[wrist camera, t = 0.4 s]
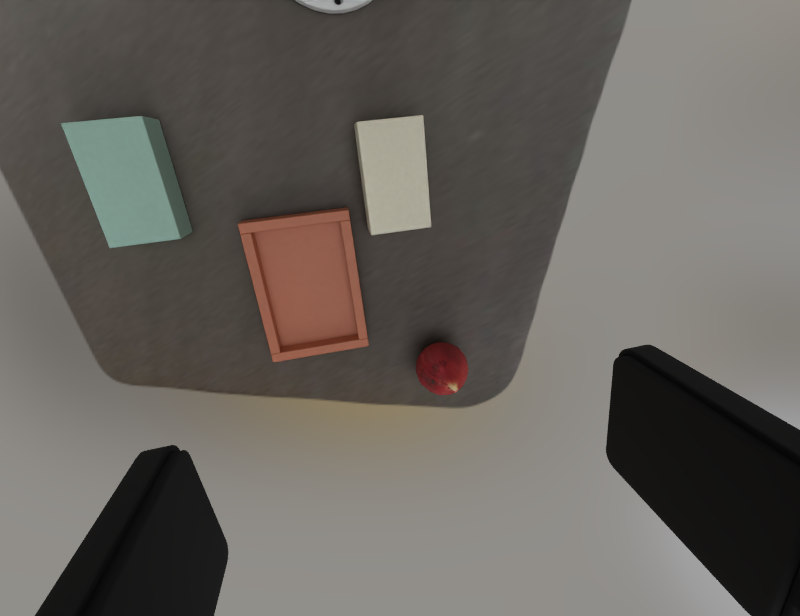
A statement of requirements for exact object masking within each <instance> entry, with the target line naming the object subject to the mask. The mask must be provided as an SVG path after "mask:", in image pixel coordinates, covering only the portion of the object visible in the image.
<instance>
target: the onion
mask: <svg viewBox="0 0 800 616" xmlns="http://www.w3.org/2000/svg"><path fill="white" fill-rule="evenodd" d="M416 373H417V376H418V378H419V381H420V383H421V384H422V385H423V386H424V387H425V388H427V389H428V390H429V391H430V392H432V393H435V394H438V395H450V394H452V393H455V392H457V391H458V390H459V389H460V388H461V387H462V386H463V384H464V383H465V381H466V379H467V374H468V365H467V360H466V357H465V355H464V354H463V353H462V352H461V350H460V349H459V348H458V347H456V346H454V345H452V344H450V343H442V342H438V343H434V344H431V345H429V346H428V347H426V348H425V349H424V350H423V351H422V352H421V354H420V355H419V357H418V358H417V363H416Z"/></svg>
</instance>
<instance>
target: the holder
mask: <svg viewBox="0 0 800 616" xmlns="http://www.w3.org/2000/svg"><path fill="white" fill-rule="evenodd" d="M238 228H239V232H240V234H241V239H242V243H243V247H244V251H245V255H246V259H247V263H248V266H249V270H250V274H251V278H252V282H253V286H254V290H255V294H256V297H257V301H258V305H259V309H260V313H261V317H262V321H263V325H264V328H265V332H266V336H267V340H268V344H269V348H270V352H271V355H272V359H273V362H277V361H283V360H289V359H295V358H301V357H307V356H312V355H318V354H324V353H330V352H336V351H342V350H348V349H353V348H359V347H365V346H369V343H368V336H367V330H366V323H365V316H364V310H363V303H362V296H361V289H360V283H359V276H358V269H357V263H356V256H355V249H354V243H353V236H352V229H351V222H350V216H349V210H348V207H345V208H337V209H329V210H321V211H313V212H306V213H298V214H290V215H282V216H274V217H266V218H258V219H251V220H243V221H241V222H240V223H239V224H238Z"/></svg>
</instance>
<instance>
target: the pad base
mask: <svg viewBox="0 0 800 616" xmlns="http://www.w3.org/2000/svg"><path fill="white" fill-rule="evenodd" d="M61 125H62V127H63V130H64V132H65V135H66V137H67V140H68V143H69V145H70V148H71V150H72V153H73V155H74V158H75V161H76V163H77V166H78V168H79V171H80V173H81V176H82V178H83V181H84V184H85V186H86V189H87V191H88V194H89V196H90V199H91V202H92V204H93V207H94V209H95V212H96V214H97V217H98V219H99V222H100V225H101V227H102V230H103V232H104V235H105V237H106V240H107V243H108V245H109V248H114V247H122V246H130V245H137V244H145V243H153V242H160V241H168V240H176V239H181V238H183V237H185V236H186V235H188V234H190V233H192V232H193V230H192V227H191V224H190V221H189V217H188V214H187V211H186V207H185V204H184V201H183V198H182V194H181V191H180V188H179V184H178V181H177V178H176V174H175V171H174V168H173V165H172V161H171V158H170V155H169V151H168V148H167V145H166V141H165V138H164V135H163V132H162V128H161V125H160V122H159V120H158V119H154V118H149V117H145V116H133V117H123V118H112V119H101V120H90V121H80V122H69V123H61Z"/></svg>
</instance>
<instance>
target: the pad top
mask: <svg viewBox="0 0 800 616" xmlns="http://www.w3.org/2000/svg"><path fill="white" fill-rule="evenodd" d="M354 129H355V136H356V144H357V151H358V159H359V166H360V174H361V181H362V189H363V196H364V204H365V211H366V219H367V226H368V230H369V232H370V234H371V235H377V234H384V233H391V232H399V231H406V230H413V229H421V228H428V227H431V217H430V203H429V189H428V175H427V161H426V147H425V134H424V120H423V115H418V116H408V117H398V118H389V119H379V120H369V121H359V122H356V123H355V124H354Z"/></svg>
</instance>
